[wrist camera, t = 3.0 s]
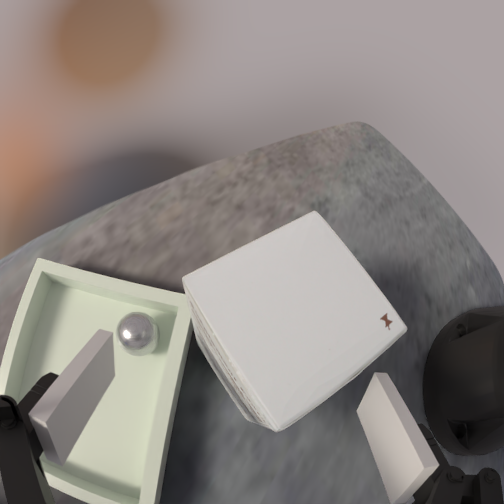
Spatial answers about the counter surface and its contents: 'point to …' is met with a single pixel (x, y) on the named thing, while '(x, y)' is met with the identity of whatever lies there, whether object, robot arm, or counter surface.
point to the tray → (121, 388)
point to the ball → (137, 334)
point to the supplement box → (289, 320)
